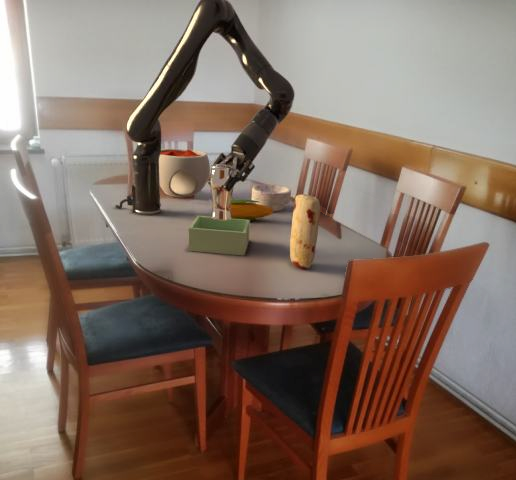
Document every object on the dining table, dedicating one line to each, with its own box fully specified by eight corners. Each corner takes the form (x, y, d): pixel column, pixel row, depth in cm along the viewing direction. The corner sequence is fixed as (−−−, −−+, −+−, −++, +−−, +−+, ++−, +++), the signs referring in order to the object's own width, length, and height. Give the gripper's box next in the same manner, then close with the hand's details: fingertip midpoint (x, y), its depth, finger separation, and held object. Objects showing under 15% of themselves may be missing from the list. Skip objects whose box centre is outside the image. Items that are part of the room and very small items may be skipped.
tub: (188, 250, 155) (188, 228, 151) (197, 236, 167) (197, 215, 164) (244, 255, 154) (245, 232, 151) (248, 241, 167) (249, 220, 164)
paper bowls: (262, 214, 197) (263, 193, 194) (244, 205, 209) (245, 184, 205) (296, 212, 204) (298, 191, 200) (277, 203, 216) (279, 183, 212)
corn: (217, 195, 186) (271, 196, 191) (216, 216, 190) (270, 216, 195) (220, 202, 180) (276, 202, 184) (219, 223, 184) (274, 223, 189)
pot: (220, 196, 220) (222, 151, 212) (184, 205, 202) (184, 157, 194) (176, 186, 231) (176, 144, 223) (138, 194, 213) (136, 148, 204)
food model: (282, 261, 151) (288, 191, 142) (302, 259, 154) (309, 190, 145) (299, 273, 144) (307, 199, 134) (320, 270, 147) (329, 198, 137)
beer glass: (236, 217, 159) (238, 165, 152) (227, 222, 153) (229, 169, 146) (215, 213, 161) (216, 163, 154) (205, 219, 155) (206, 166, 148)
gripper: (227, 130, 155) (195, 174, 153) (260, 136, 146) (226, 183, 144) (240, 148, 161) (209, 190, 159) (272, 155, 151) (240, 200, 150)
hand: (217, 187), depth 152 cm, fingers closed on beer glass, 7 cm apart
